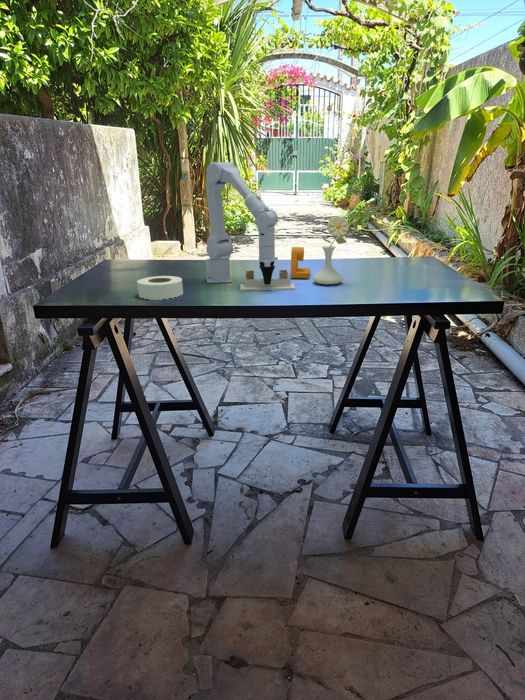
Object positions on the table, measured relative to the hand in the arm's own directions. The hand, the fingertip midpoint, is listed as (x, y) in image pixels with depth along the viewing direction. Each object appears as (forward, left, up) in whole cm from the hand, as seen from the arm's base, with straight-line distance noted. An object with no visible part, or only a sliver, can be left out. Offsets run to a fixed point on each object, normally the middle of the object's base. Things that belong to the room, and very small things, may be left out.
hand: (267, 282), depth 177 cm
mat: (0, 0, -2) cm, 2 cm away
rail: (0, 0, -1) cm, 1 cm away
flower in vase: (+24, +5, -2) cm, 25 cm away
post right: (+6, +9, -2) cm, 11 cm away
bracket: (+14, +18, -2) cm, 23 cm away
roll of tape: (-38, -7, -2) cm, 39 cm away
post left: (-6, +9, -2) cm, 11 cm away
